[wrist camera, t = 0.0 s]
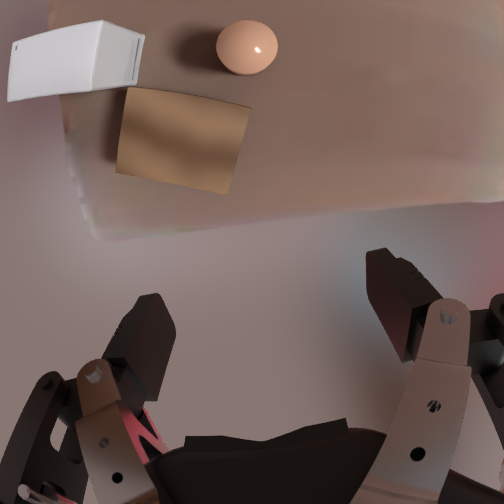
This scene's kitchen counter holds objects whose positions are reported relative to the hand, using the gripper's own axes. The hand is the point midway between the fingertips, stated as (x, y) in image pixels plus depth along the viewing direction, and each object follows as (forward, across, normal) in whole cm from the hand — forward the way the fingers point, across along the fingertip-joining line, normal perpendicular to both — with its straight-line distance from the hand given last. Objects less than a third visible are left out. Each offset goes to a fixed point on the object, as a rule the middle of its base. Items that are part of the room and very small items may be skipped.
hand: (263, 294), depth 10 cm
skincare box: (+20, +13, -19) cm, 31 cm away
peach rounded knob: (+21, -2, -14) cm, 25 cm away
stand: (+22, +6, -7) cm, 24 cm away
